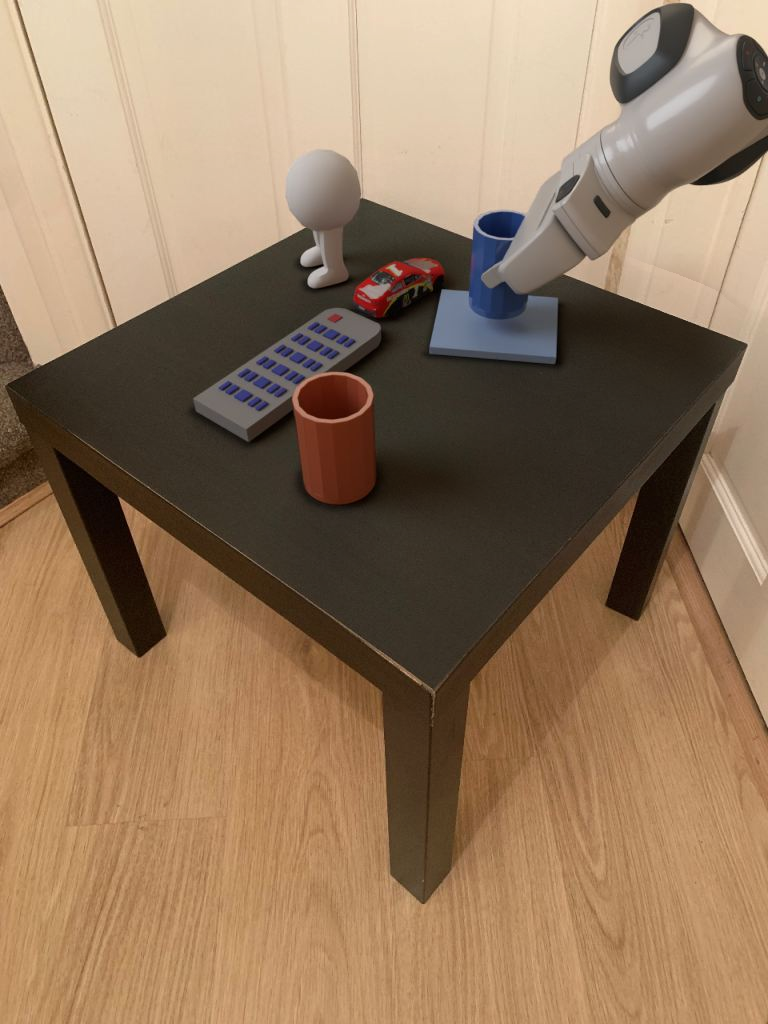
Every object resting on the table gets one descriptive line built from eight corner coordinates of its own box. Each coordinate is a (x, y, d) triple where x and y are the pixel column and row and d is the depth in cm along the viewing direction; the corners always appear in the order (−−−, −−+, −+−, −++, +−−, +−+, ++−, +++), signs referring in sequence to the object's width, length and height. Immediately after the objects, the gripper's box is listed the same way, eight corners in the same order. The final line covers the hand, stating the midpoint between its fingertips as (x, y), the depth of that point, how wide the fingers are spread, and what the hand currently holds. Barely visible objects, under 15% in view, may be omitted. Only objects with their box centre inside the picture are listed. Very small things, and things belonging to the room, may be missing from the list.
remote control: (196, 412, 83) (191, 396, 82) (337, 315, 95) (336, 299, 93) (248, 443, 80) (245, 427, 78) (389, 338, 91) (388, 322, 90)
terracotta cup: (381, 457, 78) (379, 375, 71) (369, 508, 73) (365, 426, 66) (312, 450, 79) (303, 368, 71) (295, 500, 74) (283, 418, 67)
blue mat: (557, 304, 96) (558, 297, 95) (555, 364, 88) (556, 357, 87) (441, 296, 97) (441, 289, 97) (429, 354, 89) (429, 346, 89)
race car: (422, 268, 102) (423, 239, 99) (453, 284, 99) (455, 254, 96) (346, 308, 96) (344, 278, 93) (376, 326, 93) (376, 296, 90)
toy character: (288, 258, 104) (275, 141, 93) (355, 248, 106) (350, 132, 95) (300, 294, 98) (287, 174, 87) (371, 283, 100) (367, 164, 89)
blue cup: (528, 289, 92) (538, 211, 85) (525, 321, 88) (536, 242, 81) (471, 285, 93) (476, 207, 86) (465, 317, 88) (471, 237, 81)
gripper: (602, 119, 82) (502, 196, 92) (561, 207, 69) (450, 287, 79) (636, 167, 84) (535, 238, 94) (603, 262, 72) (490, 333, 81)
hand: (496, 261), depth 86 cm, fingers closed on blue cup, 7 cm apart
